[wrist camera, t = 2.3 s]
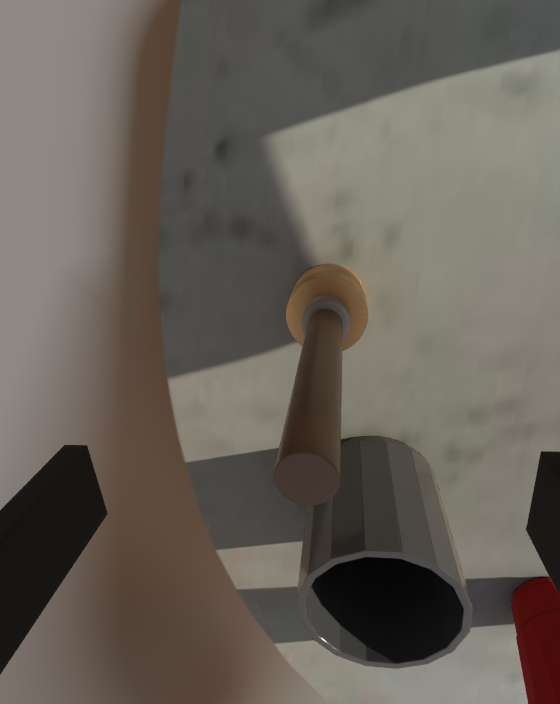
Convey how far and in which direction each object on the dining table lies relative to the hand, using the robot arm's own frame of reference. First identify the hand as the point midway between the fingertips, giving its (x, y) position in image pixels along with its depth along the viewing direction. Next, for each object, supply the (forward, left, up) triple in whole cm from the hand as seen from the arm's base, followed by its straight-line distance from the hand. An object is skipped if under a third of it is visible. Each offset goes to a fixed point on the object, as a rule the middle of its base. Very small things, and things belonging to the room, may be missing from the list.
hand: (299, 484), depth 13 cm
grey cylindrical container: (-3, +16, -19) cm, 25 cm away
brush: (0, 0, -19) cm, 19 cm away
